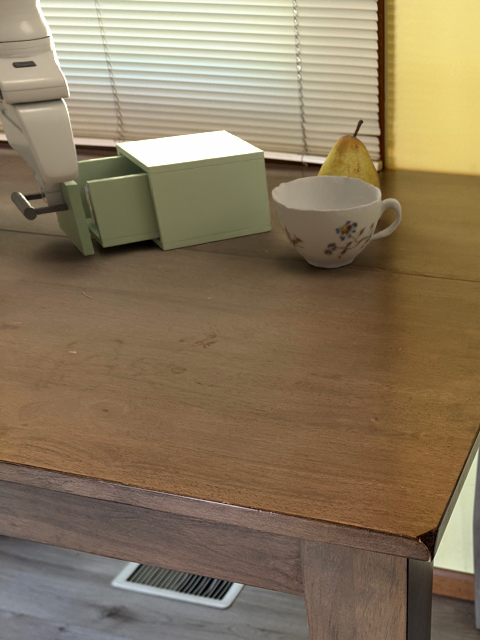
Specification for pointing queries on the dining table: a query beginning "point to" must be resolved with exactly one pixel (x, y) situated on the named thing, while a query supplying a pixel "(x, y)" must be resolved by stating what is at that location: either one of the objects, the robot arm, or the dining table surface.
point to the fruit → (350, 160)
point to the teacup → (331, 217)
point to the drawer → (101, 204)
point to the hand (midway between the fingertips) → (54, 205)
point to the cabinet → (203, 187)
